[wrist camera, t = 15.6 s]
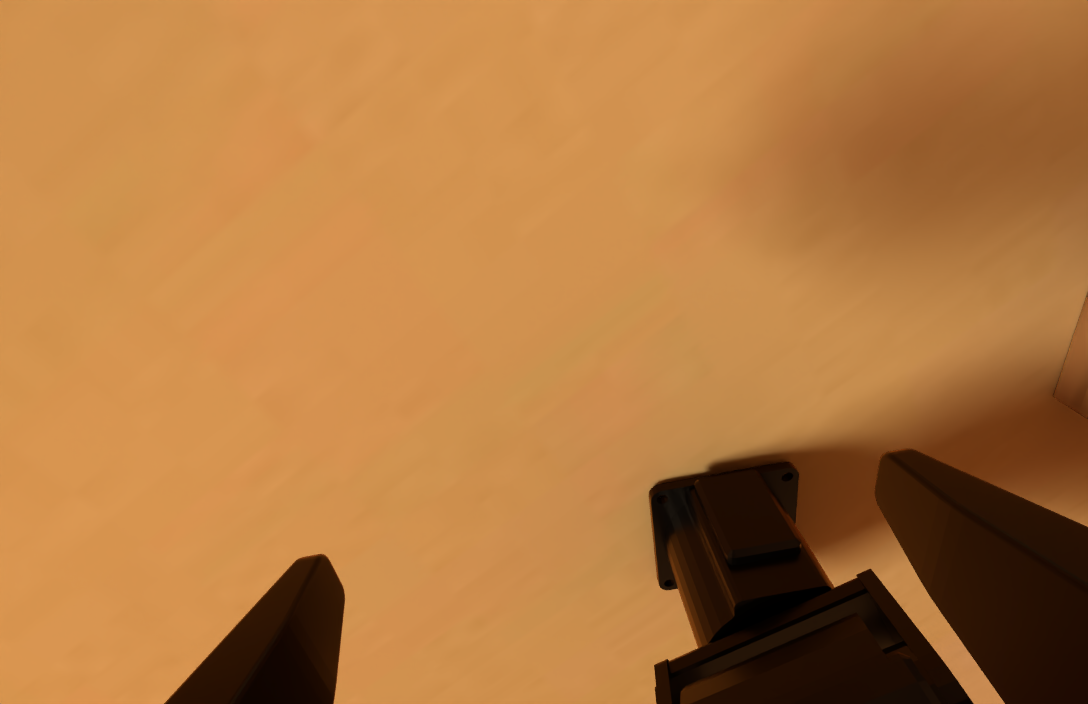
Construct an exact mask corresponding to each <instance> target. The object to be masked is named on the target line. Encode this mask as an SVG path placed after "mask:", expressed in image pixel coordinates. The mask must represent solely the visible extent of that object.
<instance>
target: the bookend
mask: <svg viewBox="0 0 1088 704" xmlns="http://www.w3.org/2000/svg"><path fill="white" fill-rule="evenodd" d="M1053 397H1054V398H1055V399H1057V400H1059V401H1060V402H1062V403H1063V404H1065V405H1066V406H1068V407H1070V408H1071V409H1073V410H1074V411H1076V412H1078V413H1079V414H1081V415H1082V416H1084V417H1086V418H1087V419H1088V294H1087V297H1086V300H1085V303H1084V306H1083V309H1082V312H1081V315H1080V318H1079V321H1078V324H1077V327H1076V330H1075V333H1074V336H1073V339H1072V342H1071V345H1070V348H1069V351H1068V354H1067V357H1066V360H1065V363H1064V366H1063V369H1062V372H1061V375H1060V378H1059V381H1058V384H1057V387H1056V390H1055V393H1054V396H1053Z"/></svg>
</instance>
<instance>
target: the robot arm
mask: <svg viewBox="0 0 1088 704" xmlns="http://www.w3.org/2000/svg"><path fill="white" fill-rule="evenodd" d="M785 473H787V474H785ZM784 474H785V475H784ZM798 480H799V473H798V471H797V469H796V468H795V467H794V465H793V464H792V463H789V462H782V463H776V464H771V465H765V466H760V467H754V468H749V469H743V470H738V471H732V472H726V473H721V474H715V475H710V476H704V477H699V478H693V479H687V480H682V481H676V482H671V483H665V484H660V485H656V486H654V487H653V488H651V490H650V491H649V502H650V512H651V522H652V532H653V542H654V552H655V562H656V572H657V579H658V582H659V586H660V588H662V589H664V590H672V589H678V590H679V593H680V596H681V599H682V602H683V605H684V608H685V611H686V613H687V616H688V619H689V622H690V625H691V628H692V631H693V634H694V637H695V640H696V643H697V646H698V649H695V650H693V651H691V652H689V653H686V654H684V655H682V656H680V657H677V658H675V659H673V660H671V661H669V660H668V659H666V660H664V661H662V662H660V663H657V664H655V665H654V668H655V678H656V687H655V694H656V703H657V704H973V702H972V701H971V699H970V698H969V697H968V695H967V694H966V692H965V691H964V689H963V688H962V687H961V685H960V684H959V682H958V681H957V679H956V678H955V677H954V675H953V674H952V673H951V671H950V670H949V668H948V667H947V666H946V664H945V663H944V662H943V660H942V659H941V658H940V656H939V655H938V654H937V652H936V651H935V650H934V649H933V647H932V646H931V645H930V643H929V642H928V641H927V640H926V638H925V637H924V636H923V635H922V633H921V632H920V631H919V629H918V628H917V627H916V626H915V624H914V623H913V622H912V621H911V619H910V618H909V617H908V615H907V614H906V613H905V612H904V610H903V609H902V608H901V607H900V605H899V604H898V603H897V602H896V600H895V599H894V598H893V596H892V595H891V594H890V593H889V591H888V590H887V589H886V588H885V586H884V585H883V584H882V582H881V581H880V580H879V579H878V577H877V576H876V575H875V574H874V572H873V571H872V570H871V569H868V570H866V571H864V572H862V573H859V574H857V575H856V576H857V577H858V578H855V579H853V580H851V581H849V582H846V583H844V584H842V585H840V586H837V587H835V588H834V586H833V584H832V583H831V581H830V580H829V578H828V576H827V575H826V573H825V572H824V570H823V568H822V567H821V565H820V564H819V562H818V560H817V559H816V557H815V556H814V554H813V552H812V551H811V549H810V548H809V546H808V544H807V543H806V541H805V540H804V538H803V536H802V535H801V533H800V532H799V530H798V528H797V527H796V525H795V521H796V507H797V493H798ZM661 495H664V496H663V497H659V496H661ZM875 497H876V501H877V503H878V506H879V508H880V509H881V511H882V513H883V515H884V517H885V518H886V520H887V522H888V524H889V525H890V527H891V529H892V531H893V533H894V534H895V536H896V538H897V540H898V541H899V543H900V545H901V547H902V549H903V550H904V552H905V554H906V556H907V557H908V559H909V561H910V563H911V565H912V566H913V568H914V570H915V572H916V573H917V575H918V577H919V579H920V580H921V582H922V584H923V585H924V587H925V589H926V590H927V592H928V594H929V595H930V597H931V598H932V600H933V601H934V603H935V604H936V606H937V607H938V609H939V610H940V612H941V613H942V614H943V616H944V617H945V619H946V620H947V621H948V623H949V624H950V626H951V627H952V629H953V630H954V631H955V633H956V634H957V636H958V637H959V639H960V640H961V641H962V643H963V644H964V646H965V647H966V649H967V650H968V651H969V653H970V654H971V656H972V657H973V659H974V660H975V661H976V663H977V664H978V666H979V667H980V668H981V670H982V671H983V673H984V674H985V676H986V677H987V678H988V680H989V681H990V683H991V684H992V686H993V687H994V688H995V690H996V691H997V693H998V694H999V696H1000V697H1001V698H1002V700H1003V701H1004V703H1005V704H1088V527H1087V526H1084V525H1082V524H1080V523H1078V522H1075V521H1073V520H1071V519H1069V518H1066V517H1064V516H1062V515H1060V514H1057V513H1055V512H1053V511H1051V510H1048V509H1046V508H1044V507H1042V506H1039V505H1037V504H1035V503H1033V502H1030V501H1028V500H1026V499H1024V498H1021V497H1019V496H1017V495H1015V494H1012V493H1010V492H1008V491H1006V490H1003V489H1001V488H999V487H997V486H994V485H992V484H990V483H988V482H985V481H983V480H981V479H979V478H976V477H974V476H972V475H970V474H967V473H965V472H963V471H961V470H958V469H956V468H954V467H952V466H949V465H947V464H945V463H943V462H940V461H938V460H936V459H934V458H931V457H929V456H927V455H925V454H922V453H920V452H918V451H916V450H913V449H901V450H895V451H890V452H886V453H884V454H883V455H882V456H881V457H880V461H879V467H878V474H877V480H876V486H875ZM344 604H345V594H344V589H343V586H342V584H341V582H340V580H339V578H338V576H337V574H336V572H335V570H334V568H333V566H332V564H331V562H330V560H329V559H328V557H327V556H325V555H324V554H318V555H312V556H307V557H302V558H299V559H298V560H296V561H295V562H294V563H293V564H292V565H291V566H290V567H289V569H288V570H287V571H286V572H285V573H284V574H283V575H282V576H281V577H280V578H279V579H278V580H277V582H276V583H275V584H274V585H273V586H272V587H271V588H270V589H269V590H268V591H267V592H266V594H265V595H264V596H263V597H262V598H261V599H260V600H259V601H258V602H257V603H256V604H255V605H254V607H253V608H252V609H251V610H250V611H249V612H248V613H247V614H246V615H245V616H244V617H243V619H242V620H241V621H240V622H239V623H238V624H237V625H236V626H235V627H234V628H233V629H232V630H231V632H230V633H229V634H228V635H227V636H226V637H225V638H224V639H223V640H222V641H221V642H220V644H219V645H218V646H217V647H216V648H215V649H214V650H213V651H212V652H211V653H210V654H209V655H208V657H207V658H206V659H205V660H204V661H203V662H202V663H201V664H200V665H199V666H198V667H197V669H196V670H195V671H194V672H193V673H192V674H191V675H190V676H189V677H188V678H187V679H186V680H185V682H184V683H183V684H182V685H181V686H180V687H179V688H178V689H177V690H176V691H175V692H174V694H173V695H172V696H171V697H170V698H169V699H168V700H167V701H166V702H165V703H164V704H333V703H334V697H335V690H336V682H337V672H338V662H339V653H340V643H341V633H342V623H343V614H344Z"/></svg>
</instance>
